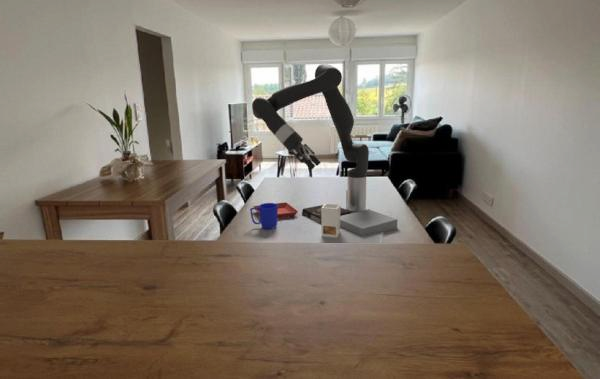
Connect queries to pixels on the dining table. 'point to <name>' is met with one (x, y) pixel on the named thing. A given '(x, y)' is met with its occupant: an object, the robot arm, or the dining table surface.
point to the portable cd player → (319, 213)
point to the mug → (267, 215)
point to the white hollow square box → (330, 218)
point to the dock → (367, 222)
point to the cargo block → (330, 230)
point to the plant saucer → (283, 210)
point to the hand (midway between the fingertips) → (316, 166)
